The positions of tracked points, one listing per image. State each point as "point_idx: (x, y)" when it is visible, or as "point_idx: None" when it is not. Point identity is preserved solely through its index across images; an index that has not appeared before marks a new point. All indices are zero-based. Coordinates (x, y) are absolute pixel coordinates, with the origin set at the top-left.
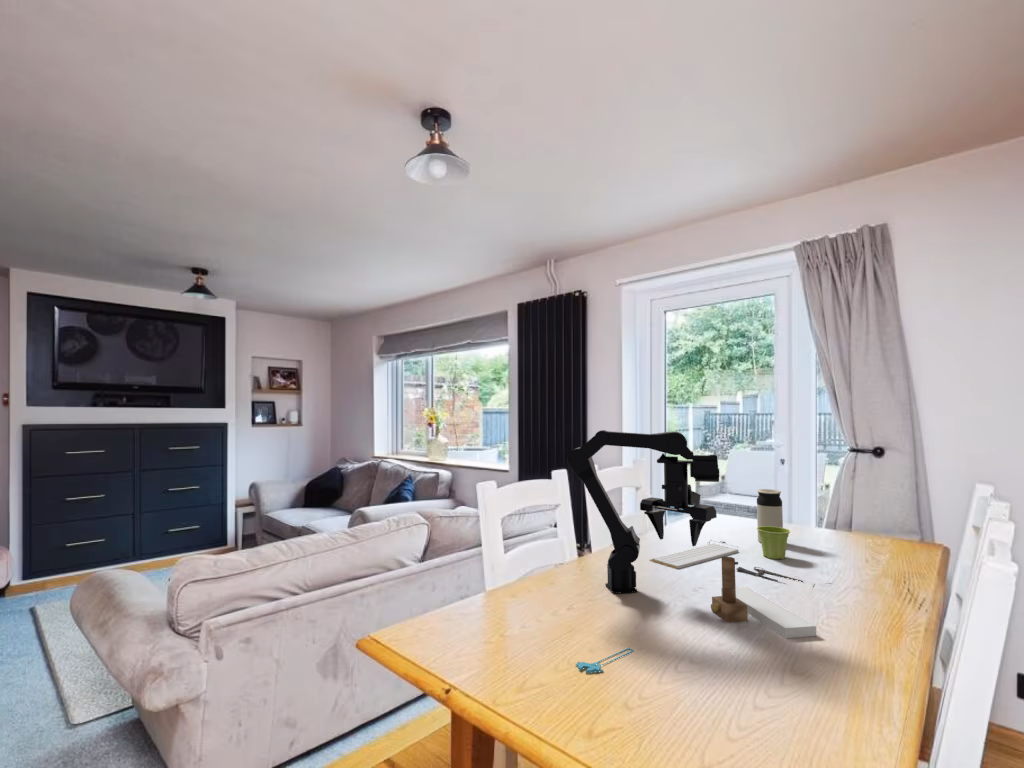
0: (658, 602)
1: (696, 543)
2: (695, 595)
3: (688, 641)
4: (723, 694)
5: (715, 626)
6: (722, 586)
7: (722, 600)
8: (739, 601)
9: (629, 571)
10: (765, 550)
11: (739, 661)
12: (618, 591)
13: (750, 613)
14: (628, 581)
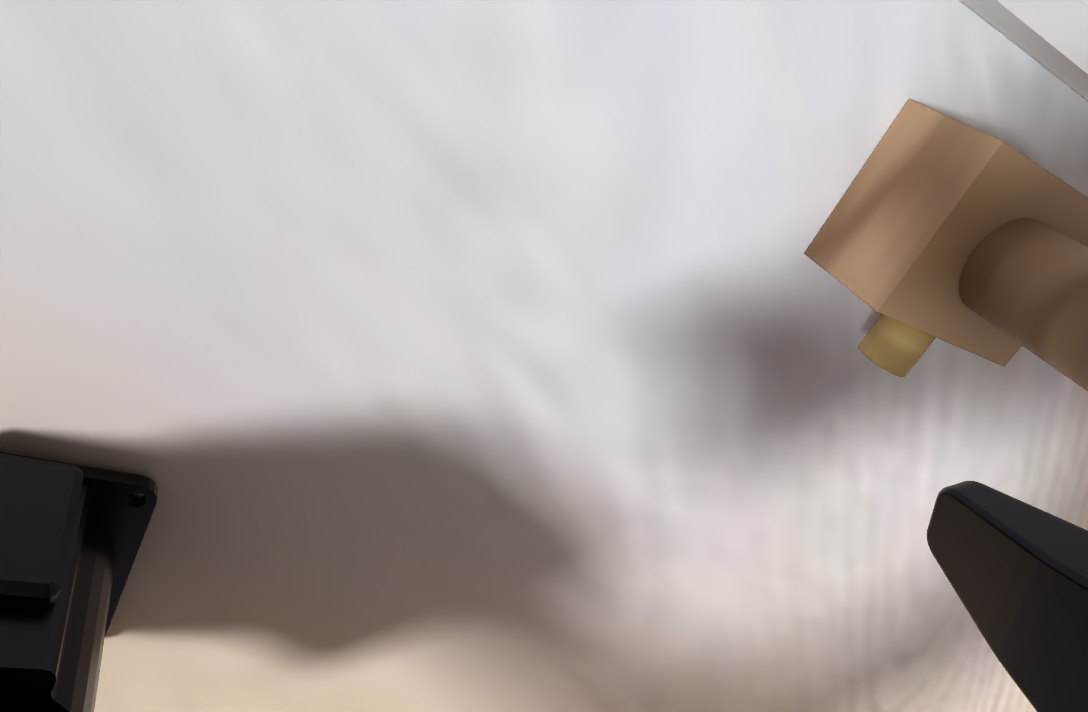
0: (437, 451)
1: (1013, 502)
2: (524, 53)
3: (840, 595)
4: None
5: (887, 398)
6: (1055, 368)
7: (960, 303)
8: (1071, 210)
9: (86, 684)
10: None
11: None
12: (106, 622)
13: (1046, 64)
14: (105, 610)
